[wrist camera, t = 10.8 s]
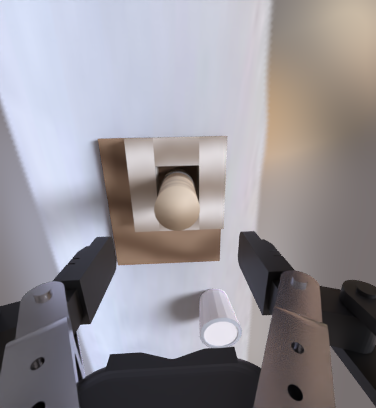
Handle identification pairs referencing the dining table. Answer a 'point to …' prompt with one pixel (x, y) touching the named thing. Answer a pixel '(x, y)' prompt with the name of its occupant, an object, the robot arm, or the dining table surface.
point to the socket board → (152, 239)
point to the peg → (177, 201)
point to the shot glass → (218, 320)
